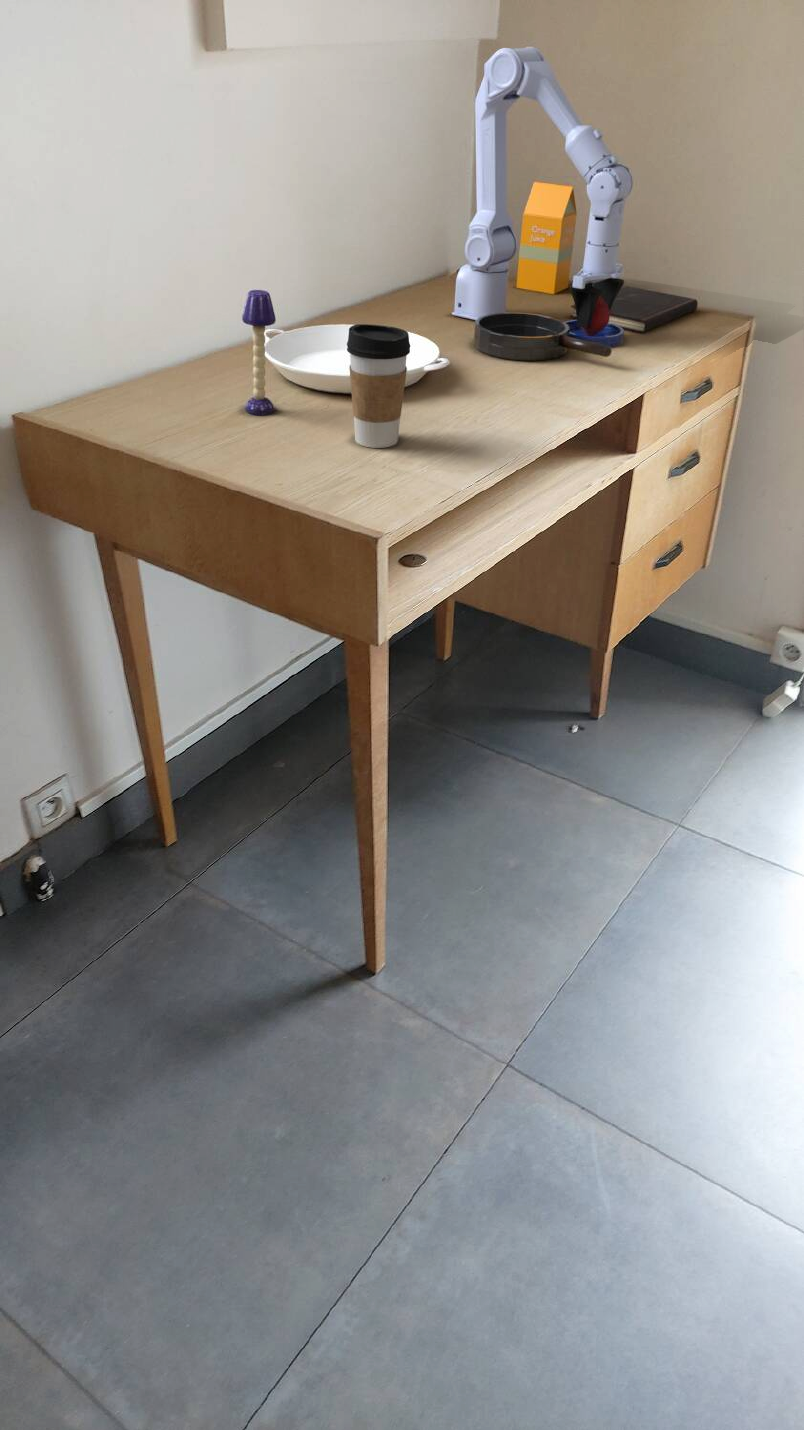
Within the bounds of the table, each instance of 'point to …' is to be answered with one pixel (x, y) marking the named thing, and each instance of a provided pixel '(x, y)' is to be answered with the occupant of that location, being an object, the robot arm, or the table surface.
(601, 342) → the saucer
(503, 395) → the table surface
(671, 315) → the hardcover book
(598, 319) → the onion
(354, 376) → the coffee cup
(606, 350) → the pan handle
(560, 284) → the orange juice
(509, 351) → the frying pan
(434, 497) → the table surface
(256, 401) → the toy lamp
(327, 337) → the pan
